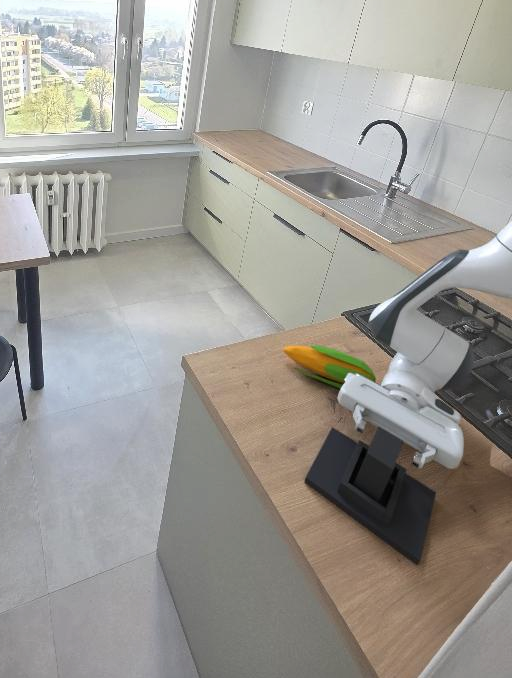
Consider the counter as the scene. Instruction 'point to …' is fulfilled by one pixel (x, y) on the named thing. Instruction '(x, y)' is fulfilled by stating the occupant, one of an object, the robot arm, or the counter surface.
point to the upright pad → (378, 464)
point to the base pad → (380, 518)
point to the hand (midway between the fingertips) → (386, 446)
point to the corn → (328, 363)
